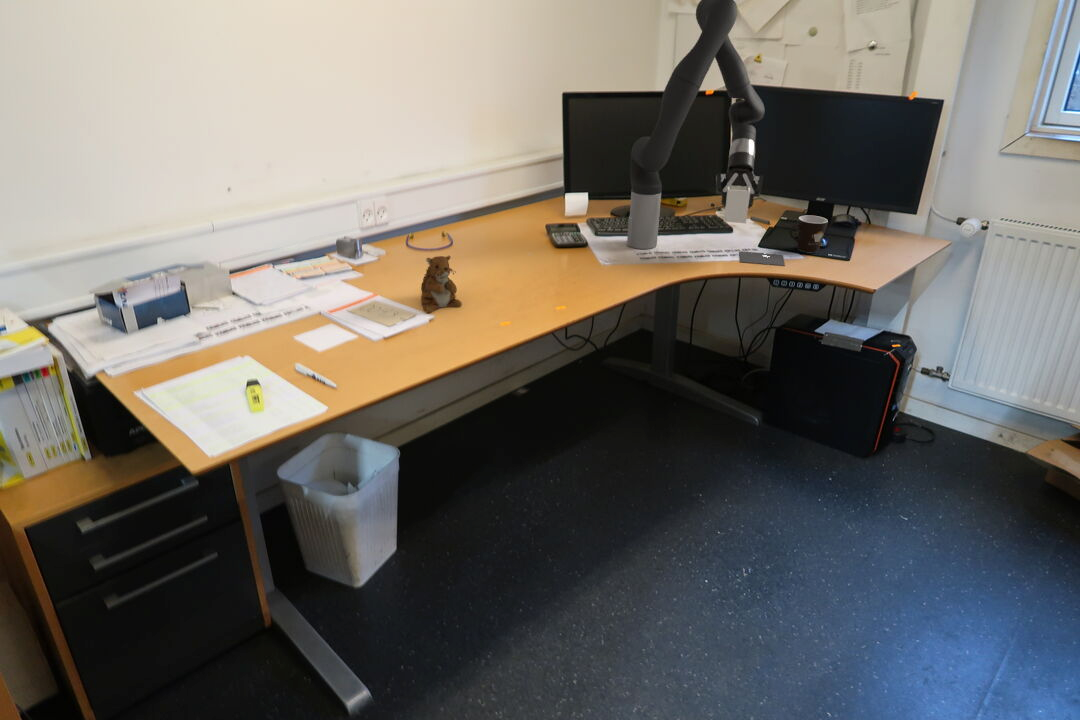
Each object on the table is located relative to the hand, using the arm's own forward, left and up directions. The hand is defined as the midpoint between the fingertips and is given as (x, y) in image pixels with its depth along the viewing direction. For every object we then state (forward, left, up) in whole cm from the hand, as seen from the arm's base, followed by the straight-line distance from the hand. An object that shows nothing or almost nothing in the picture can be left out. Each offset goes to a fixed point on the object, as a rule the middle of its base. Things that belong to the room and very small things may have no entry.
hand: (736, 206), depth 220 cm
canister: (0, +2, -4) cm, 5 cm away
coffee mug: (+23, +15, -16) cm, 32 cm away
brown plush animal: (-75, -54, -17) cm, 94 cm away
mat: (+10, +3, -16) cm, 19 cm away
